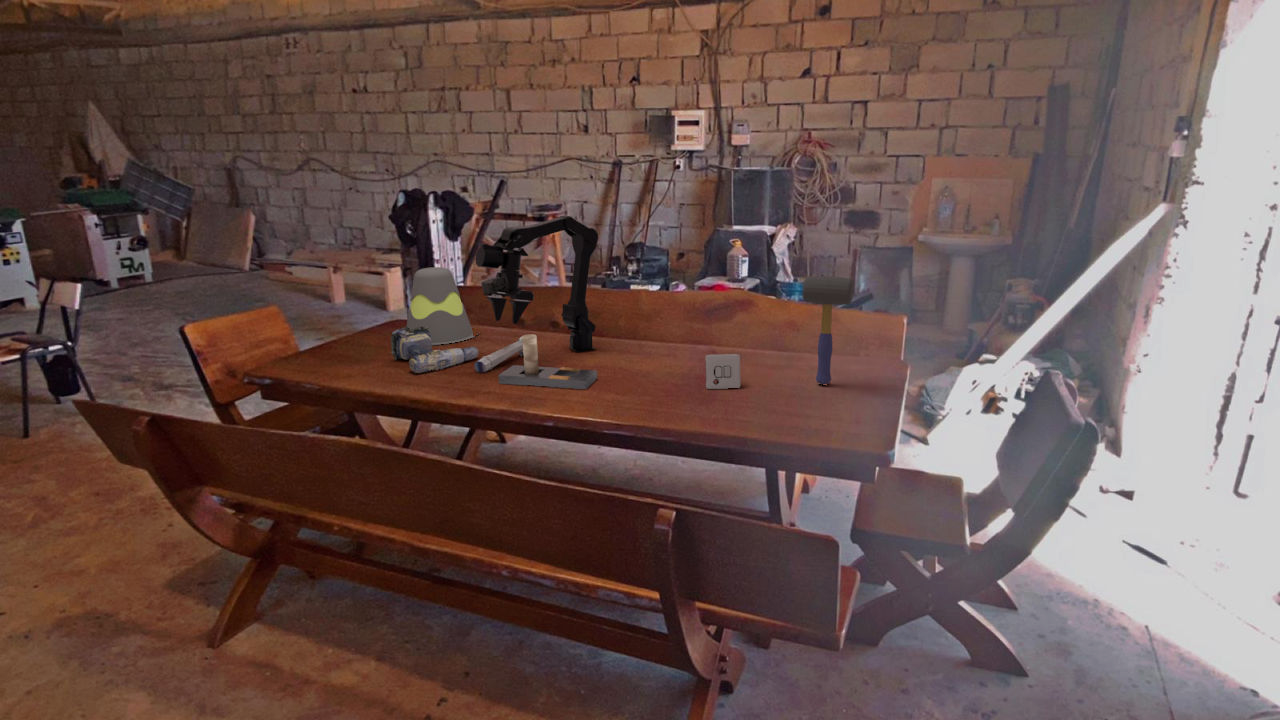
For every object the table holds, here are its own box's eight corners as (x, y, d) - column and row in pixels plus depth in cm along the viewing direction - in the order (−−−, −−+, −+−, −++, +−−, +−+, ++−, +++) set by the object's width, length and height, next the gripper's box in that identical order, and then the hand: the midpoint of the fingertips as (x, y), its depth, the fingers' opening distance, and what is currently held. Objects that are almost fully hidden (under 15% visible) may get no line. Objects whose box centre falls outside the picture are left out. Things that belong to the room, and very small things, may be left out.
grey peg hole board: (499, 383, 212) (498, 374, 211) (514, 373, 221) (513, 364, 220) (585, 389, 205) (585, 379, 204) (597, 378, 214) (596, 369, 213)
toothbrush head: (471, 359, 222) (523, 330, 242) (475, 380, 225) (526, 349, 244) (484, 362, 220) (536, 332, 239) (488, 382, 222) (539, 351, 242)
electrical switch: (706, 390, 203) (706, 356, 201) (704, 385, 208) (704, 352, 206) (740, 389, 203) (741, 355, 201) (738, 385, 208) (738, 352, 206)
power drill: (380, 364, 234) (376, 330, 231) (442, 349, 250) (439, 317, 247) (419, 377, 220) (415, 341, 217) (482, 360, 236) (480, 327, 233)
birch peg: (536, 377, 217) (533, 333, 213) (541, 380, 213) (538, 336, 210) (523, 379, 215) (520, 335, 211) (528, 383, 212) (525, 338, 208)
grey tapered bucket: (396, 331, 274) (388, 266, 268) (473, 323, 283) (468, 260, 277) (400, 349, 249) (392, 278, 243) (484, 340, 258) (479, 271, 252)
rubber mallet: (848, 383, 205) (855, 275, 197) (844, 391, 199) (851, 279, 190) (803, 378, 210) (807, 272, 202) (797, 386, 204) (802, 277, 195)
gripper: (470, 266, 224) (466, 318, 225) (504, 269, 210) (500, 324, 212) (501, 269, 231) (497, 319, 233) (537, 272, 218) (532, 325, 219)
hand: (506, 322), depth 224 cm, fingers open, 9 cm apart
